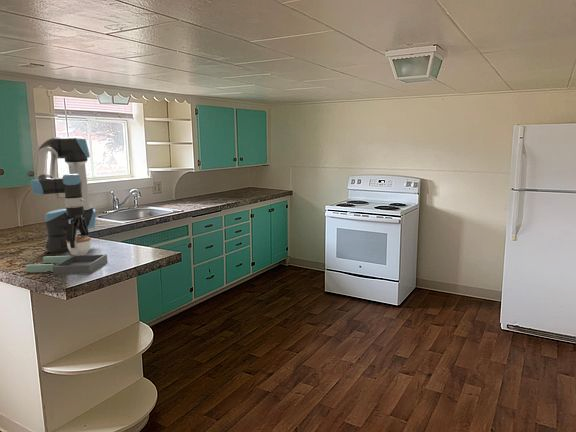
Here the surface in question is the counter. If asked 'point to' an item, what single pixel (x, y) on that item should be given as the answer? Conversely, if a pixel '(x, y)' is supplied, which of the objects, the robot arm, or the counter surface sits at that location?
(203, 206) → the counter surface
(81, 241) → the white round bowl
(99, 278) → the counter surface
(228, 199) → the counter surface
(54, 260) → the rail holder
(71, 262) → the tray
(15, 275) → the counter surface
